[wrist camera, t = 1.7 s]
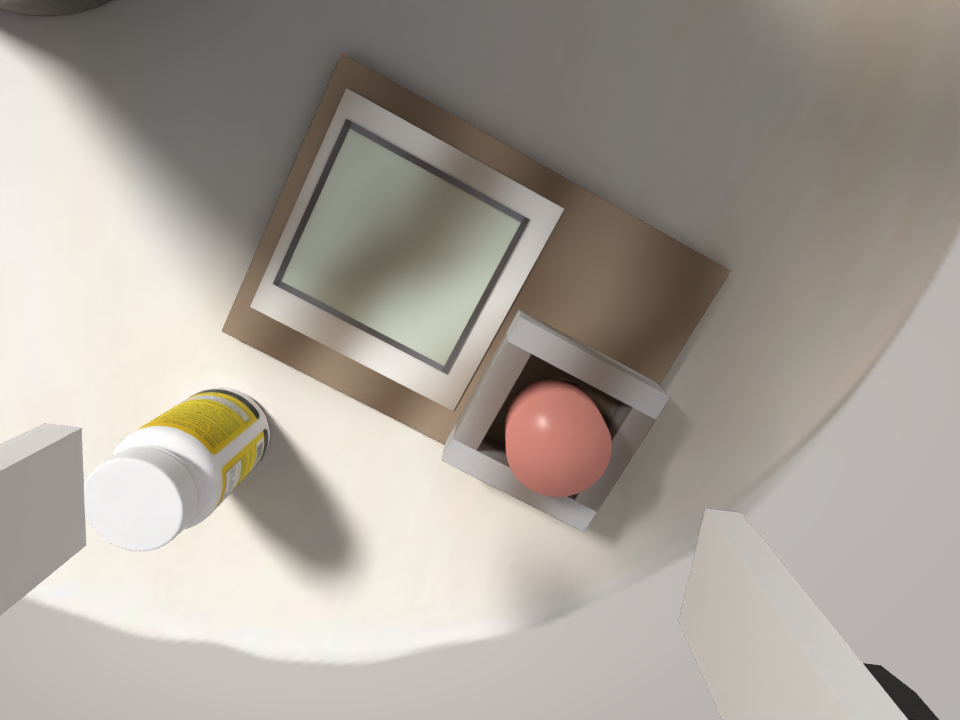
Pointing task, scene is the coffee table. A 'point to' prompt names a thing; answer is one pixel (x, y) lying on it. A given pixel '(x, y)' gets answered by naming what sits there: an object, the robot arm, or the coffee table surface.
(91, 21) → the coffee table surface
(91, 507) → the supplement bottle
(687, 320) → the board
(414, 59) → the coffee table surface
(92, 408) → the coffee table surface
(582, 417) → the button
